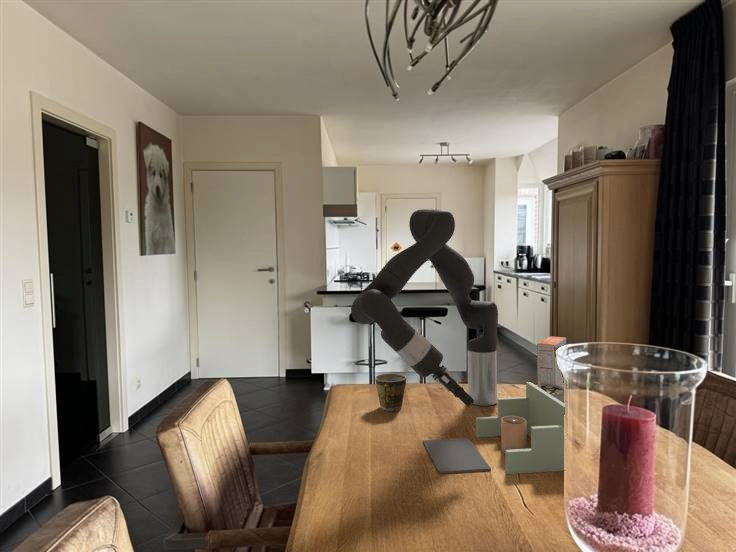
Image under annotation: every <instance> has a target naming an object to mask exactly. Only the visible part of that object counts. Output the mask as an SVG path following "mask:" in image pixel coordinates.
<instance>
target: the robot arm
mask: <svg viewBox="0 0 736 552" xmlns="http://www.w3.org/2000/svg"><path fill="white" fill-rule="evenodd" d="M408 222H409V230H410V234H411V236H412V238H413V240H414V241H415V243H413V244H411V245H409V247H406V248H405V249H403V250H402V251H400V252H398V253H397V254H395V255H394V256H393V257H391V258H390V259H389V260H388V261H387V262H386V263H385V264H384V266H383V267H382V268H381V270H380V271H379V272H378V273H377V275H376V276H375V278H374V279H373V280H372V281H371V282H370V283H369V284H368V285H367V286H366V287H365V288H364V289H363V290H362V291H361V292H360V293H359V294H358V295H357V296H356V298H355V299H354V300H353V302H352V303H351V307H350V312H351V317H352V318H353V320H354V321H355V322H356V323H358V324H361V325H369V324H372V323H374V322H375V323H376V324H377V326H378V327H379V329H381V331H380V336H381V338H382V339H381V340H383V341H384V342H385V343H386V344H387V346H389V347H390V348H391V349H392V350H393V351H394V352H395V353H397V355H398V356H399V357H400V359H401V360H402V361H403V362H404V363H406V365H407V366H408V367H410V368H411V370H413V371H414V372H415V373H416V374H417V375H418V376H419V377H420V378H428V377H429V376H430V375H431V377H432V378H433V380H434V381H435V382H436V383H437V384H439V385H441V386H442V388H443V389H445V390H446V391H447V392H450V393H452V394H453V397H455V398H457V399H459V400H460V401H461V402H462V404H464V405H465V407H470V406H472V405H475V406H483V407H484V406H486V407H487V406H493V405H496V404H498V382H497V381H498V379H497V377H498V376H497V374H498V373H497V371H498V370H497V345H498V324H499V323H498V322H499V309H498V306H497V304H496V303H495V302H494V301H485V300H473V299H472V298H471V297H470V293H471V292H472V290H473V288H474V284H475V275H474V272H473V271H472V269H471V266H470V265H469V262H468V261H467V260H466V259H465V258H464V256H462V255H461V254H460V253H459V252H458V251H456V250H455V249H453V248H452V247H451V246H450V245H448V244H447V243H448V242H449V241H450V240H451V239H452V237H453V235H454V233H455V229H456V221H455V218H454V215H453V213H452V212H451V211H449V210H445V209H433V208H431V209H429V208H423V209H421V208H420V209H417V210H415V211H414V212H412V213H411V215H410V218H409V221H408ZM428 260H429V262H430V263H431V265H432V266H433V267H434V270H435V271H436V272H437V274H438V277H439V278H440V280H441V282H442V283H443V285H444V287H445V288H446V290H447V291H448V294H449V295H450V297H451V299H452V300H453V302H454V304H455V306H456V309H457V311H458V314H459V316H460V319H461V321H462V323H463V325H465V327H467V328H468V329H472V330H483V332H482V335H481V336H479V337H477V338H476V337H475V338H472V339H470V340H468V342H467V391H466V390H465V389H464V387H463V386H461V385H460V384H459V381H458V380H457V378H456V377H455V376H453V374H452V373H451V372H450V371H449V369H448V368H447V367H446V366H444V364H441V363H442V362H443V359H444V356H443V353H442V352H441V351H440V350H439V349H437V347H436V346H434V345H433V344H432V343H431V342H430V341H429V340H428V339H427V338H426V337H425V336H424V335H422V334H421V333H420V332H419V331H418V330H416V329H415V328H414V327H413V326H412V325H410V324H409V322H407V321H406V320H405V319H404V318H403V316H402V314H401V313H400V311H399V310H398V308H397V307H396V306H395V303H394V302H393V301H392V300H393V298H395V297H396V296H398V295H399V293H400V292H402V289H403V288H404V287H405V286H406V285H407V283H408V282H409V281H410V279H411V278H412V277H413V276H414V274H415V273H416V272H417V271H418V270H419V269H420V268H421V267H422V266H423V265H425V263H426V262H428Z"/></svg>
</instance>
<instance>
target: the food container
mask: <svg viewBox="0 0 736 552" xmlns="http://www.w3.org/2000/svg"><path fill="white" fill-rule="evenodd" d="M541 389H542V390H544V391H545V392H547V393H549V394H550V395H552V396H553V397H555V398H556V399H558V400H560V401H561V402H563V403H564V404H565V402H564V388H562V387H560V386H557V385H553V384H546V383H541Z"/></svg>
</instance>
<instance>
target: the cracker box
mask: <svg viewBox="0 0 736 552" xmlns="http://www.w3.org/2000/svg"><path fill="white" fill-rule="evenodd" d="M564 345H566V346H567V337H563V336H562V337H561V336H551V335H550V336H548V337H546V338H544V339H543V340H541V341H539V342H537V344H536V362H537V363H536V366H537V367H536V368H537V369H536V372H537V373H536V374H537V386H538V387H539V388H541V383H546V384H553V385H557V386H560V387H562V388H564V386H563V384H564V383H563V377H562V374H561V372H560V370H559V368H558V366H557V362H556V357H555V351H556V350H557V349H558V348H559V347H561V346H564Z"/></svg>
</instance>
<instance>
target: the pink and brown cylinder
mask: <svg viewBox="0 0 736 552" xmlns="http://www.w3.org/2000/svg"><path fill="white" fill-rule="evenodd" d="M527 436H528V435H527V421H526V419H524V418H522V417H517V416H505V417H502V418H501V436H500V437H501V438H500V439H501V445H500V447H501V453H502V455H503V454H504V455H505V450H513V449H528V443H527V442H528V440H527V439H528V437H527Z"/></svg>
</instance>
